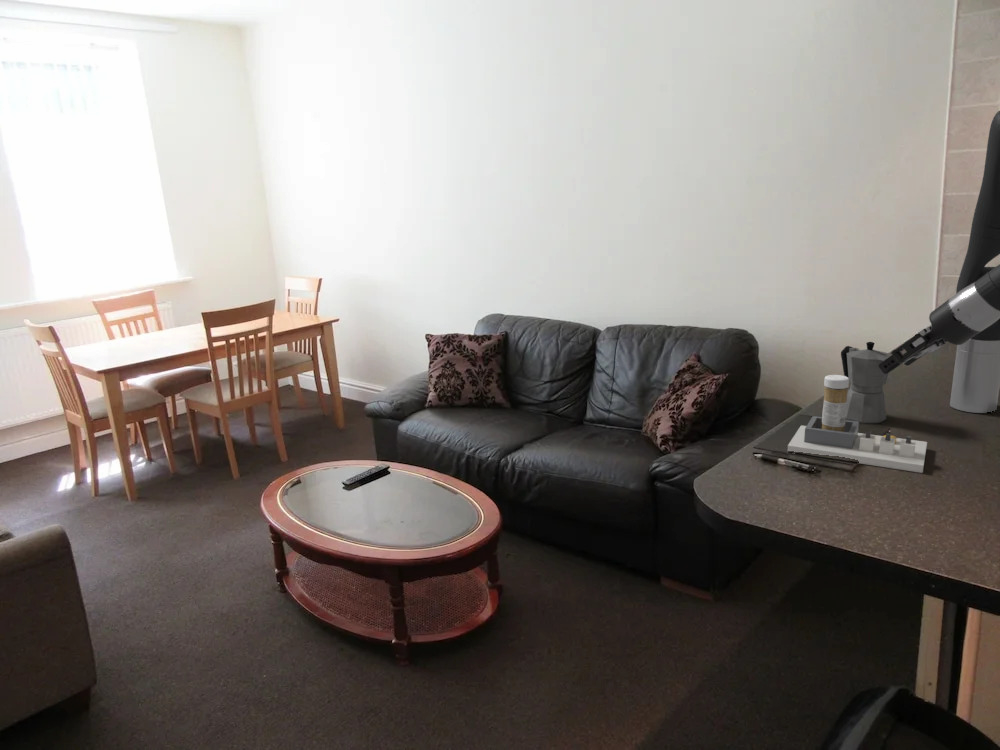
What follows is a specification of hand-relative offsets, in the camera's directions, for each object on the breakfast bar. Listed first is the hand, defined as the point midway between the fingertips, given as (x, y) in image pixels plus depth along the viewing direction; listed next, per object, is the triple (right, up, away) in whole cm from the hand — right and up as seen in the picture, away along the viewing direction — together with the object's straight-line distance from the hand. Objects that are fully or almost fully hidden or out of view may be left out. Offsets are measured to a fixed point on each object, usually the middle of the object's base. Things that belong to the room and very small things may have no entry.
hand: (893, 365), depth 133 cm
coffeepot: (+9, -12, +30) cm, 34 cm away
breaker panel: (-2, -17, +10) cm, 20 cm away
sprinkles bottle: (-6, -15, +13) cm, 21 cm away
